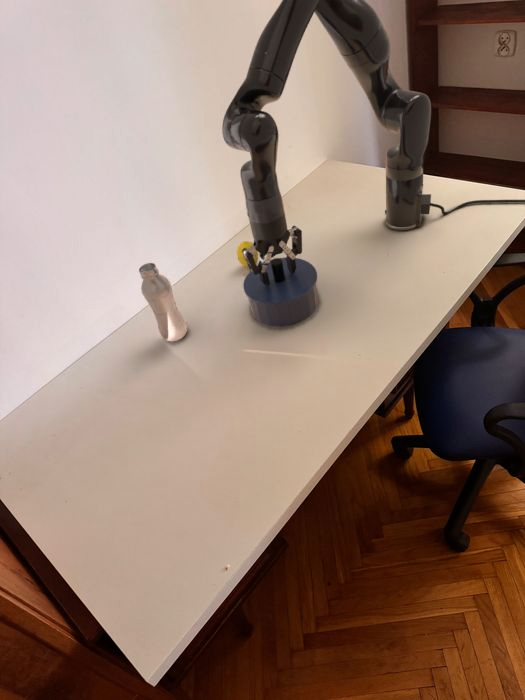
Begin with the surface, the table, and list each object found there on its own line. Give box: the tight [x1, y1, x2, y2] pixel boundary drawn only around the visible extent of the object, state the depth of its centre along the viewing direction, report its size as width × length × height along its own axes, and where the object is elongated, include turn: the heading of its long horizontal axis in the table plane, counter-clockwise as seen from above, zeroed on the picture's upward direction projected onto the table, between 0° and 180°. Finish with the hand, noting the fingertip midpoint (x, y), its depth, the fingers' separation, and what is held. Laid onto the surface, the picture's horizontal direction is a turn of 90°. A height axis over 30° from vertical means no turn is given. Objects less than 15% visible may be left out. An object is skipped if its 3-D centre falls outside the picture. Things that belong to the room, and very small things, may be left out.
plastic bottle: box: [138, 262, 188, 342], centre depth 107 cm, size 6×7×20 cm
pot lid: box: [242, 257, 318, 305], centre depth 108 cm, size 17×17×6 cm
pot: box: [247, 283, 320, 328], centre depth 112 cm, size 16×16×7 cm
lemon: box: [236, 240, 259, 268], centre depth 126 cm, size 6×6×8 cm
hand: (279, 277), depth 109 cm, fingers open, 6 cm apart
